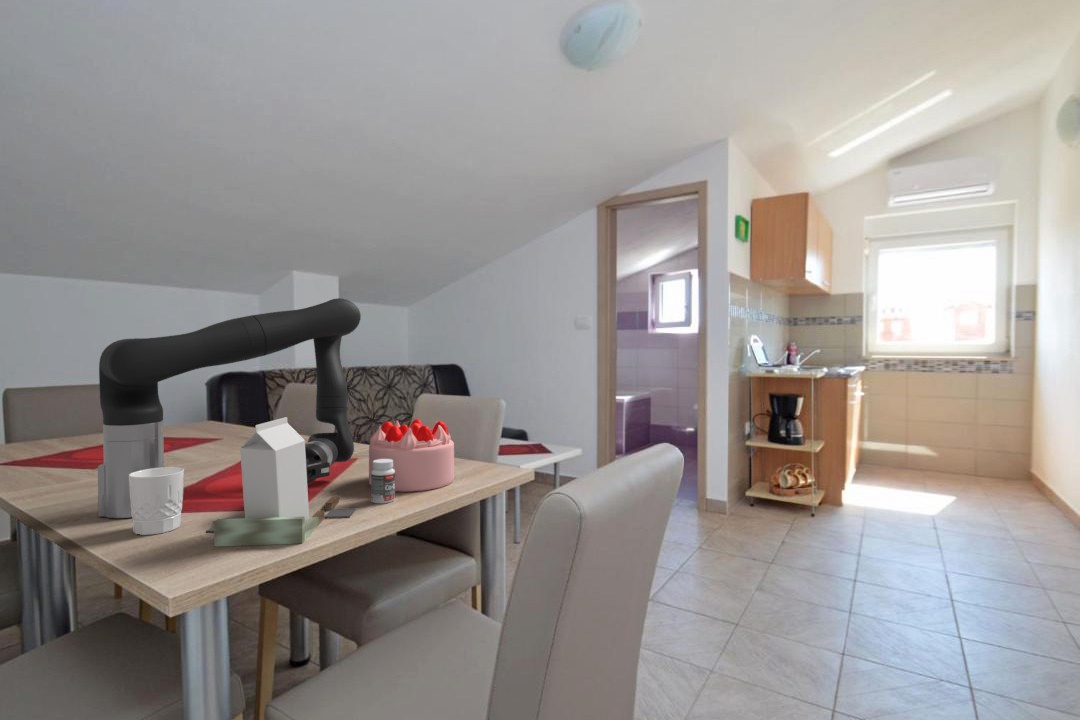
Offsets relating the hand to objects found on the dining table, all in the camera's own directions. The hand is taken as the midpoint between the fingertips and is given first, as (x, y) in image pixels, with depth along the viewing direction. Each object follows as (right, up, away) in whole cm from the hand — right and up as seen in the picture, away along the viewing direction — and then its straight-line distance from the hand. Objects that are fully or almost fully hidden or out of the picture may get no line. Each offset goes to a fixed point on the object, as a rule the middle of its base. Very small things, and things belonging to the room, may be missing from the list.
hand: (280, 480), depth 96 cm
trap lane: (0, -8, +3) cm, 8 cm away
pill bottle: (+14, -8, +16) cm, 23 cm away
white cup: (-21, -8, -2) cm, 22 cm away
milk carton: (+1, -8, -3) cm, 8 cm away
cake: (+16, -8, +33) cm, 37 cm away
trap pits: (0, -8, +3) cm, 8 cm away
